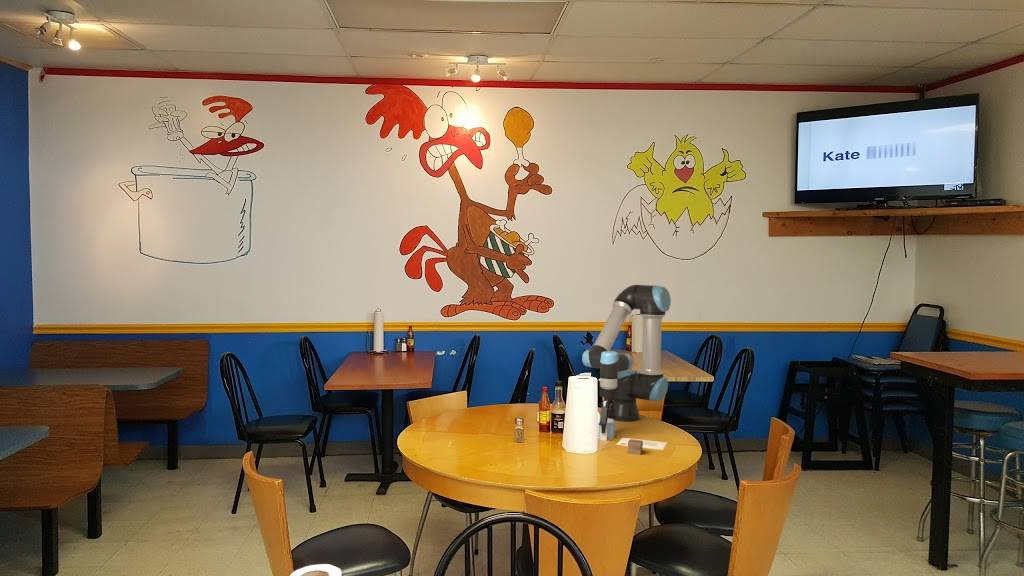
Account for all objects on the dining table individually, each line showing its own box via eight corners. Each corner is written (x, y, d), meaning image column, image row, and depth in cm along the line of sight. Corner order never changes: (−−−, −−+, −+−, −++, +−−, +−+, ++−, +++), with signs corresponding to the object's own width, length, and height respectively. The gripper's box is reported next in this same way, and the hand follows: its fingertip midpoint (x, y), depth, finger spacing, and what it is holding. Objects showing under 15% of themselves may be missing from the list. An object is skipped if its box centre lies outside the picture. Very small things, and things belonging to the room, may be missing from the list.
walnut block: (630, 451, 305) (630, 439, 304) (642, 452, 303) (642, 440, 303) (627, 454, 300) (627, 442, 300) (640, 455, 298) (640, 443, 298)
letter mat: (619, 436, 327) (619, 436, 327) (671, 442, 319) (671, 441, 319) (611, 445, 312) (611, 445, 312) (665, 452, 304) (665, 451, 304)
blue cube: (601, 435, 330) (602, 421, 329) (615, 436, 327) (615, 423, 327) (598, 438, 324) (598, 424, 324) (612, 439, 322) (612, 426, 322)
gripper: (606, 382, 337) (604, 429, 338) (593, 391, 314) (591, 442, 315) (622, 383, 335) (621, 431, 336) (611, 393, 312) (609, 444, 313)
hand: (606, 436), depth 326 cm, fingers open, 12 cm apart
